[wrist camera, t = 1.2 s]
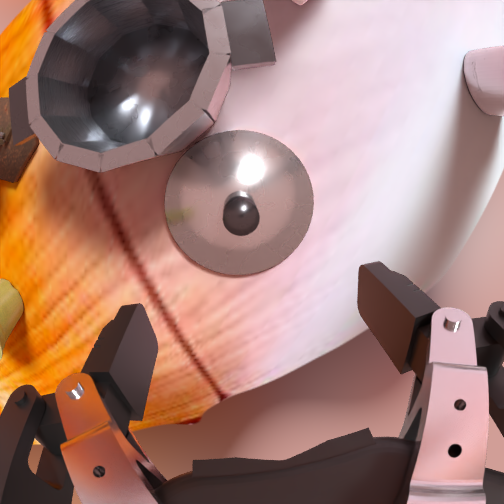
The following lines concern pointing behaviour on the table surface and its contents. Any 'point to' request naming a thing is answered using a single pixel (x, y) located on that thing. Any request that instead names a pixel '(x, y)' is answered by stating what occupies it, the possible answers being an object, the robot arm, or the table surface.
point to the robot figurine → (12, 147)
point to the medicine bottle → (299, 1)
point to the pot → (135, 77)
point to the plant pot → (8, 311)
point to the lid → (238, 202)
